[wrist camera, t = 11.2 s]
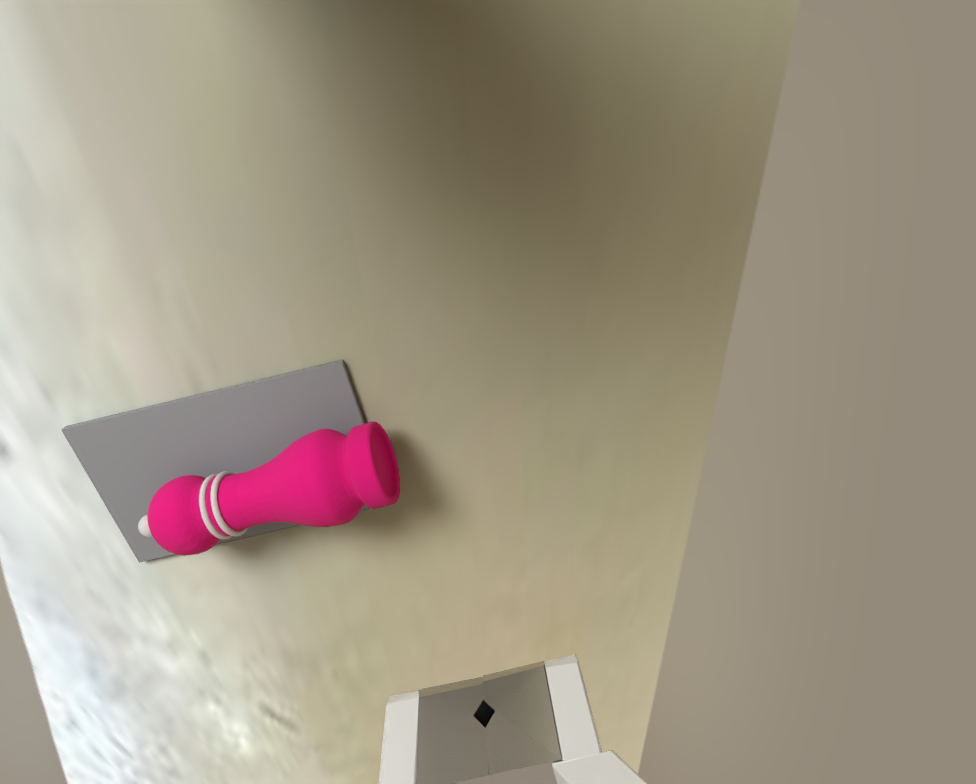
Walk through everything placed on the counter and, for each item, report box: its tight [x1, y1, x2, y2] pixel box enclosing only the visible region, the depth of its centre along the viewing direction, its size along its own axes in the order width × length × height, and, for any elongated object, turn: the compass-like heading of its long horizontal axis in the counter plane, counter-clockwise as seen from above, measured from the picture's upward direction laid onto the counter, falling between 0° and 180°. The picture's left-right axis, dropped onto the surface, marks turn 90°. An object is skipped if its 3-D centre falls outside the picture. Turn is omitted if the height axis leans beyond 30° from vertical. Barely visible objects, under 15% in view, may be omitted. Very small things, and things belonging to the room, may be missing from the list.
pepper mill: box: [138, 422, 400, 555], centre depth 46 cm, size 7×7×20 cm
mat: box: [62, 360, 370, 562], centre depth 49 cm, size 22×13×1 cm, turn 103°
